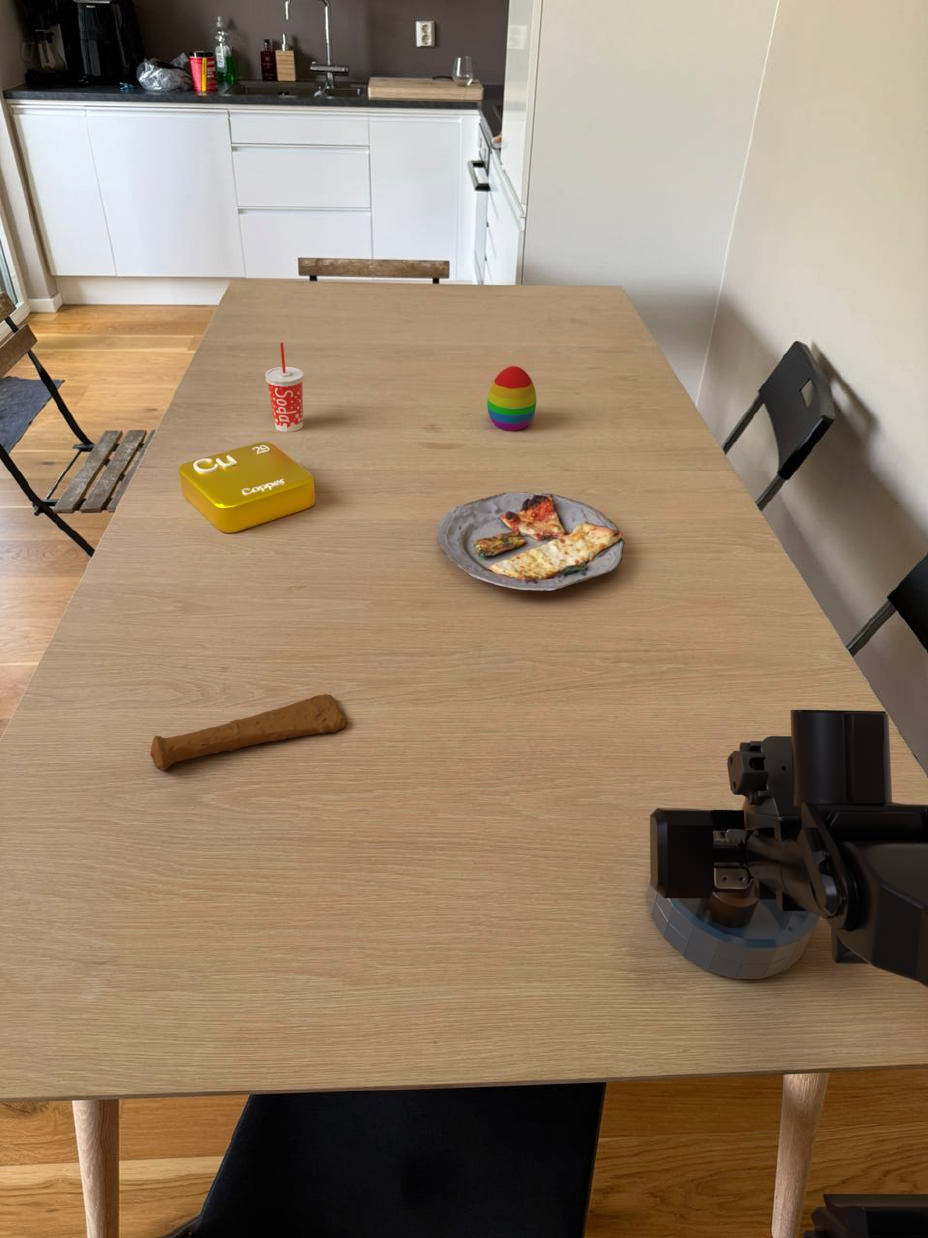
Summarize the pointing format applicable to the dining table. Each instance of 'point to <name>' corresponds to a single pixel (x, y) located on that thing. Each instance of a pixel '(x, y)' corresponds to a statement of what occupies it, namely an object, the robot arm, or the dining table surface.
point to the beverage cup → (286, 396)
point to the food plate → (530, 540)
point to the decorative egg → (512, 399)
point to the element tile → (247, 486)
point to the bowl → (733, 936)
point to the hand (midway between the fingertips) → (741, 840)
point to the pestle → (732, 900)
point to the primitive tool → (252, 730)
